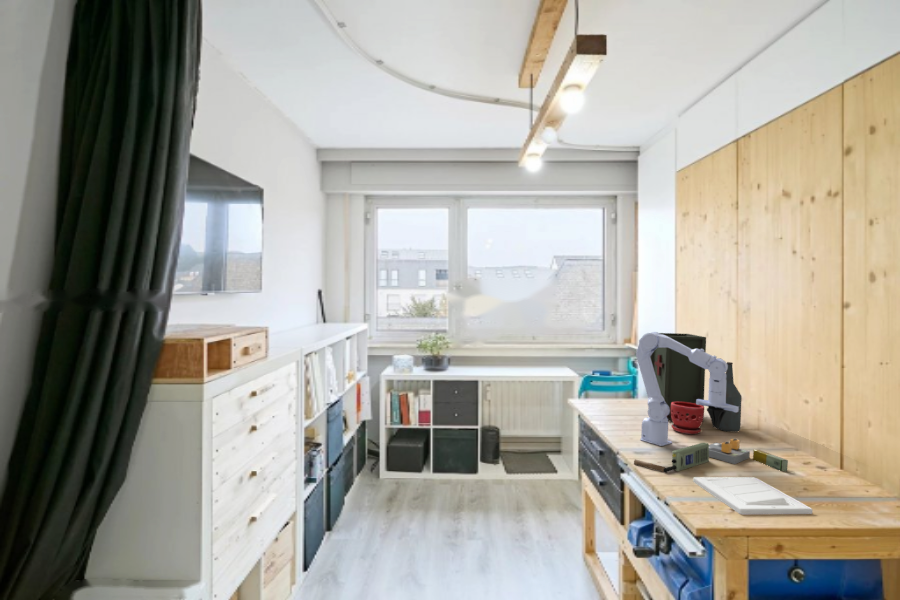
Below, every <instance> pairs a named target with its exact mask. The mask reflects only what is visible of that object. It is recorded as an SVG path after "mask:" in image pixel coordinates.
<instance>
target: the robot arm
mask: <svg viewBox="0 0 900 600" xmlns="http://www.w3.org/2000/svg"><path fill="white" fill-rule="evenodd" d="M660 333H661V332H658V331H652V332H647V333H645V334H643V335H642V336H641V338H640V339H639V340H638V346H637V349H636V353H635V355H636V356H635V357H636V360H637V363H638V367H639V371H640V375H641V377H642V380H643V381H642V382H643V384H644V388H645V391H646V394H647V395H646V396H647V407H648V409H647V414H648V417H644V418H643V420H642V422H641V432H640V433H641V437H640V439H639V440H640V441H643V442H646V443H650V444H652V445H656V446H660V447H663V446H667V445H670V444H673V441H670V440H668V439H669V436H668V435H669V421H668V419H667V415H668V414H669V412H670V409H669V406H668V405H667V404H666V402H665V400H664V398H663V396H662V395H661V392H660V389H659V385H658V382H657V379H656V375H655V372H654V368H653V365H652V361H651V358H650V356H651V355H652V353H653V352H654V350H655V349H657V348H658V347H659V348H661V347H668V348H670V349H672V350H675V351H677V352H679V353H681V354H683V355H685V356H688V358H689V361H690V362H692V363H694V364H696V365H698V366H700V367H702V368H704V369H705V370H708V371H709V379H708V395H707V396H708V400H707V399H704V400H702V399H697V400H696V404H697V405H703V406H704V407H707V408H706V411H707V413H708V415H709V418H710V420H711V424H712V428H715V429H717V428H719V426H720V422H721V420H722V418H723V416H724V414H725V413H726V411H727V410H728V411H733V412H738V411H739V407H738V406H733V405H730V404H726V371H727V369H728V365H727V362H726V360H724V359H722V358H719V357H718V356H716V355H712V354H709V353H707V351H706V352H704V350H703V349H693V350H692V349H690V348H688V347H687V346H685V345H683V344H681V343H679V342H677V341H675V340H674V339H672V338H670V337H668V336H666V335H663V334H660ZM717 357H718V358H717Z"/></svg>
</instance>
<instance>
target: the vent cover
mask: <svg viewBox="0 0 900 600" xmlns="http://www.w3.org/2000/svg"><path fill="white" fill-rule="evenodd" d="M692 482H693V483H694V484H695V485H697V486H698V487H700V488H702V489H703V490H705V491H706V492H707V493H709V494H710V495H711V496H712V497H715V498H716V499H718V501H720V502H722V503H723V504H725V505H726V506H728V507H729V508H730V509H731V510H733V511H735V513H738V515H807V514H808V515H812V514H813V508H811V507H810V506H808V505H806V504H804V503H803V502H802V501H799V500H797V499H795V498H794V497H792V496H790V495H788V494H786V493H784V492H783V491H781V490H779V489H778V488H775V487H773V486H772V485H770V484H769V483H766V482H764V481H762V480H761V479H760V478H757V477H753V476H751V477H750V476H749V477H748V476H744V477H743V476H739V477H738V476H735V477H734V476H733V477H729V476H728V477H727V476H725V477H723V476H720V477H719V476H718V477H717V476H713V477H712V476H702V477H699V476H694V477H693V478H692Z"/></svg>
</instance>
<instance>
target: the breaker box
mask: <svg viewBox="0 0 900 600" xmlns="http://www.w3.org/2000/svg"><path fill="white" fill-rule="evenodd" d="M721 447H722V443H719V442H714V443H711V444H709V458H712V459H716V460H719V461H722V462H725V463H729V464H732V465H736V464H738V463H742V462H744V461H746V460H748V459H750V456H751V451H750V450H747V449H742V448H740V449H737V450H736V449H732V450H731V452H730V453H726V452H722V451H721Z"/></svg>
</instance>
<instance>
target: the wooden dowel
mask: <svg viewBox="0 0 900 600" xmlns="http://www.w3.org/2000/svg"><path fill="white" fill-rule="evenodd" d="M633 464H634V465H635V466H639V467H643V468H646V469H649V470H653V471H657V472H661V473H665V472H664V468H666V466H662V465H659V464H654V463H651V462H647V461H643V460H640V459H634V460H633Z"/></svg>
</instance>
